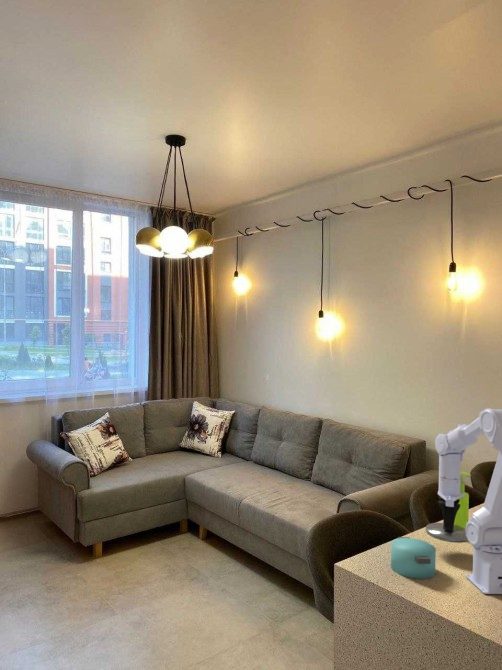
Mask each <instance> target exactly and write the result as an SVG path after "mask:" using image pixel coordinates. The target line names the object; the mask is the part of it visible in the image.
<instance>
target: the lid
mask: <svg viewBox="0 0 502 670" xmlns="http://www.w3.org/2000/svg"><path fill="white" fill-rule="evenodd" d="M425 533H426V534H427V535H428V536H430V537H432V538H434V539H437V540H439V541H444V542H448V543H456V544H457V543H459V544H460V543H461V544H462V543H468V542H469V541H468V539H467V536H466V529H465V528H463V527H460V526H457V525H454V526H453V528H447V527H445V526H444V521H442V522H431V523H429V524H427V525H426V526H425Z"/></svg>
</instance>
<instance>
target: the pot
mask: <svg viewBox="0 0 502 670" xmlns="http://www.w3.org/2000/svg"><path fill="white" fill-rule="evenodd" d="M390 548H391V550H390V551H391V552H390V554H391V555H390V568H391V569H392V571H393V572H395V573H397V574H398V575H400V576H403V577H406V578H410V579H417V580H418V579H419V580H425V579H426V580H427V579H430V578H433V577H434V576H435V575H436V556H437V555H436V553H437V551H436V547H435V546H434V545H433V544H432V543H430V542H427V541H425V540H423V539H422V540H421V539H417V538H412V537H408V536H407V537H406V536H405V537H404V536H398V537H397V538H395V539H393V540H392V541H391V546H390Z"/></svg>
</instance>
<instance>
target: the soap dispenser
mask: <svg viewBox="0 0 502 670" xmlns="http://www.w3.org/2000/svg"><path fill="white" fill-rule="evenodd" d="M463 476H464V477H465V478H467V477H472V475H471V474H470V473H468V472H466V471H463V470H461V476H460V493H463V494H465V497H464V498H462V497H461V498H459V500H460V501H459V503H458V504H460V508H459V509H458V511H457V514H456V517H455V521H454V525H457V526H460V527H463V528H465V529H466V525H467V522H468V521H469V509H470V507H469V506H470V505H469V503H470V501H469V500H470V499H469V498H470V495H469V493H468V492H466V491H465V490H466V489H465V488H466V487H465V486H466V484H465V483H466V482H464V481H463Z"/></svg>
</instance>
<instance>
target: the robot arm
mask: <svg viewBox="0 0 502 670" xmlns="http://www.w3.org/2000/svg"><path fill="white" fill-rule="evenodd" d="M482 435H484V436H486V439H487V440H488V442H489V443H490V445H491V447H492V448H494V449H495V450H496V451H498V454H497V459H496V462H495V466H494V469H493V473H492V476H491V479H490V481H489V482H490V483H489V486H488V489H487V493H486V495H485V500H484V502H483V506H482V507H481V508H479V509H477V510H475V511H474V512H473V513H472V515H471V517H470V519H468V522H467V525H466V536H467V539H468V542H469V544H470V545H471V546H472V547H473V550H472V573H470V574H467V573H466V574H465V577H466V578H467V579H468V580H469V581H470V582H471V583H472V584H473V585H474V586H475V587H477V588H478V589H479V590H480V591H481V592H482V593H483V594H484V595H502V408H501V409H499V408H497V409H493V408H485V409H484V410H483V411H482V410H481V411H480V412H479V415H478V417H477V418H476V419H475V420H474V421H472V422H471V423H469V424H466V423H459V424H457V427H456V428H454V429H451V430H449V432H448V433H447V434H444V433H439V434H438V435H437V436H436V437H435V442H434V445H435V450H436V452H437V454H438V463H439V464H438V491H437V495H438V505H439V507H440V510H441V515H442V520H443V521H444V526H445V527H447V528H453V526H454V521H455V517H456V514H457V511H458V509H459V508H460V504H458V503H459V501H460V500H459V498H461V497H462V498H464V497H465V494H463V493H460V476H461V471H462V470H461V469H462V466H461V464H462V462H463V460H464V454H465V453H466V449H468V448H469V447H472V446H473V445H475V444H476V443H477V442H478V438H479V437H480V436H482ZM443 521H442V522H443Z"/></svg>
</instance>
